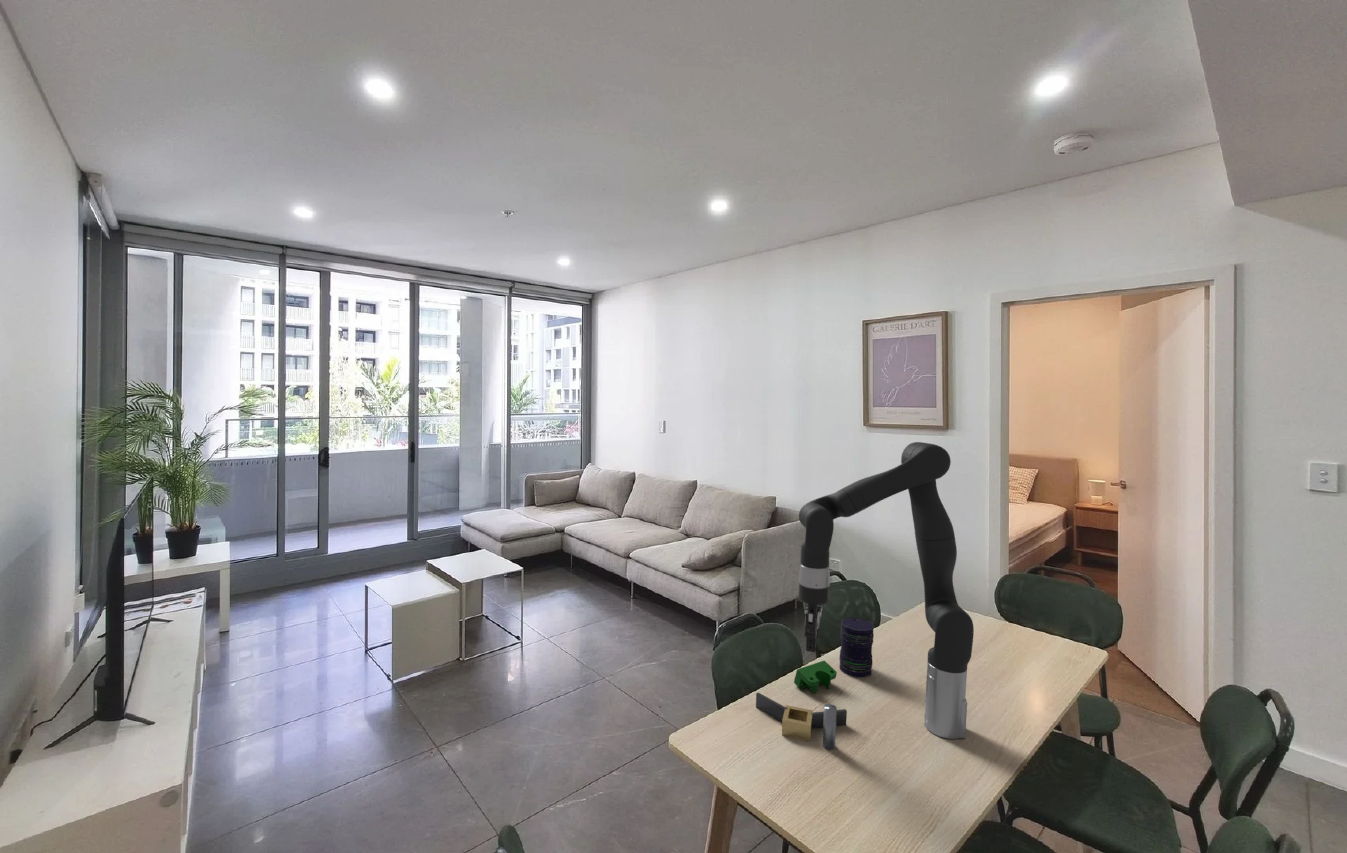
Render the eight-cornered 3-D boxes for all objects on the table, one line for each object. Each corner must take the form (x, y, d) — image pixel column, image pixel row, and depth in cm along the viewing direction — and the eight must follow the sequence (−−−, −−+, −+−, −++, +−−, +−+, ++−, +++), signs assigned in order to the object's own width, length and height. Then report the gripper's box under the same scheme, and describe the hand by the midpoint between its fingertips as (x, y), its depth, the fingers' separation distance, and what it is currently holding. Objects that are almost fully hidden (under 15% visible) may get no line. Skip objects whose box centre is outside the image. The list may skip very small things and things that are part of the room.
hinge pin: (835, 744, 136) (836, 705, 136) (834, 751, 133) (836, 711, 133) (822, 741, 137) (824, 702, 137) (822, 748, 134) (823, 709, 134)
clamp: (809, 707, 160) (806, 686, 156) (795, 692, 165) (792, 672, 161) (839, 684, 164) (837, 663, 160) (825, 670, 169) (823, 650, 165)
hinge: (846, 723, 145) (846, 709, 144) (845, 748, 135) (846, 732, 134) (756, 705, 152) (756, 691, 152) (749, 727, 142) (749, 712, 142)
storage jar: (876, 678, 168) (878, 630, 167) (844, 677, 168) (846, 630, 167) (865, 662, 178) (867, 617, 177) (835, 661, 178) (837, 616, 177)
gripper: (827, 593, 132) (825, 659, 133) (831, 575, 146) (829, 634, 147) (795, 589, 135) (793, 653, 136) (802, 571, 148) (801, 630, 149)
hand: (812, 643), depth 141 cm, fingers open, 8 cm apart
